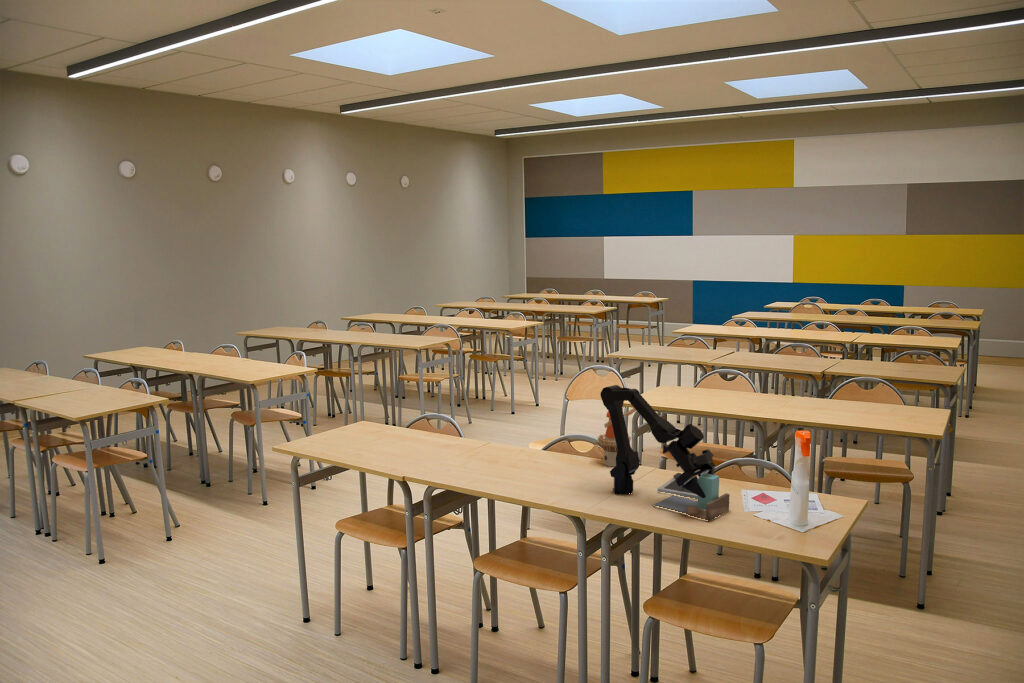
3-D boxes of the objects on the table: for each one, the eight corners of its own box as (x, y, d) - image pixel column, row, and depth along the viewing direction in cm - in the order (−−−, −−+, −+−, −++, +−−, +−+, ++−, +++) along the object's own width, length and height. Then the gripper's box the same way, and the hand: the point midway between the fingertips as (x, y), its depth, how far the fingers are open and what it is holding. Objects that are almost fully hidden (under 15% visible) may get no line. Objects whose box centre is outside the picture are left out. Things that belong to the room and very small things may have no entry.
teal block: (697, 513, 262) (698, 476, 260) (704, 510, 266) (705, 473, 264) (710, 517, 259) (712, 479, 257) (717, 513, 262) (719, 476, 261)
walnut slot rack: (687, 516, 259) (688, 499, 258) (708, 505, 270) (708, 489, 269) (709, 522, 254) (709, 504, 253) (728, 511, 265) (729, 494, 264)
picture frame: (677, 479, 302) (657, 494, 284) (677, 472, 301) (657, 486, 284) (717, 486, 293) (699, 501, 276) (717, 479, 293) (699, 494, 275)
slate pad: (653, 507, 268) (653, 504, 268) (672, 497, 278) (672, 495, 278) (687, 515, 260) (687, 512, 260) (705, 506, 270) (705, 503, 269)
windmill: (615, 473, 308) (617, 398, 304) (585, 466, 317) (586, 394, 313) (638, 463, 321) (640, 392, 317) (608, 457, 330) (610, 388, 326)
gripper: (684, 448, 255) (714, 487, 249) (711, 437, 269) (740, 475, 263) (663, 467, 261) (691, 506, 255) (690, 455, 275) (717, 492, 269)
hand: (711, 494), depth 260 cm, fingers open, 9 cm apart
